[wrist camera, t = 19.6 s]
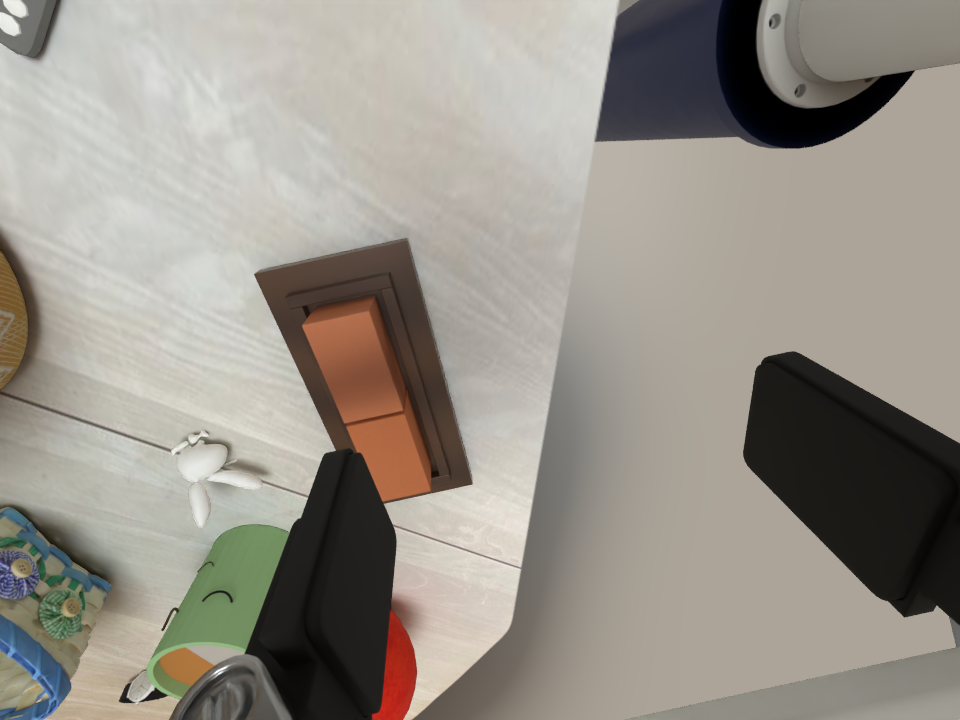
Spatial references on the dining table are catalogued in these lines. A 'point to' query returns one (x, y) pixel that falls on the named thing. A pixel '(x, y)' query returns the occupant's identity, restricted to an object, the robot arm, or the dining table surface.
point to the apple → (397, 673)
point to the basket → (40, 619)
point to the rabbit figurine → (207, 473)
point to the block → (394, 452)
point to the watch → (140, 691)
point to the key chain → (25, 24)
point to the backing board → (403, 329)
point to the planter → (11, 323)
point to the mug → (217, 608)
